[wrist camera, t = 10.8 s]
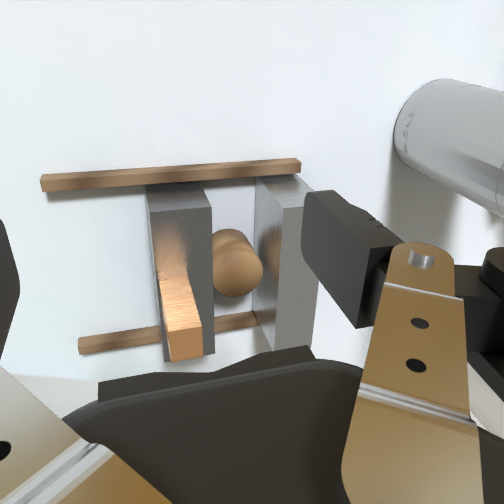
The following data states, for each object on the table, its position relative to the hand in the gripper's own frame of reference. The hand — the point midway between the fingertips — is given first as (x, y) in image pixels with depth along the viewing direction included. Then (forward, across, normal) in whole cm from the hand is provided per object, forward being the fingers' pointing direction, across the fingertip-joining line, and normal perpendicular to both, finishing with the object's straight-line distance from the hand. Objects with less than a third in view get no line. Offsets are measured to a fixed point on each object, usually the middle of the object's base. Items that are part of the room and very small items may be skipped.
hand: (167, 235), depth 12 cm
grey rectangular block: (+28, -13, +17) cm, 35 cm away
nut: (+28, -8, +17) cm, 34 cm away
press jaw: (+28, -3, +17) cm, 33 cm away
